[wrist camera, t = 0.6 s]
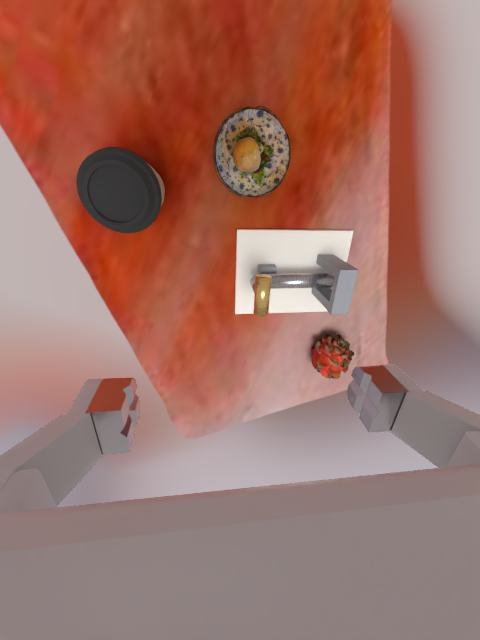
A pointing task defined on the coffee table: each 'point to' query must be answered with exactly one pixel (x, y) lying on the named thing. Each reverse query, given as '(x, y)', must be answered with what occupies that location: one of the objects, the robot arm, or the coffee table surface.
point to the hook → (284, 286)
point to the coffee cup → (120, 189)
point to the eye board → (295, 268)
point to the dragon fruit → (331, 356)
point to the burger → (251, 152)
